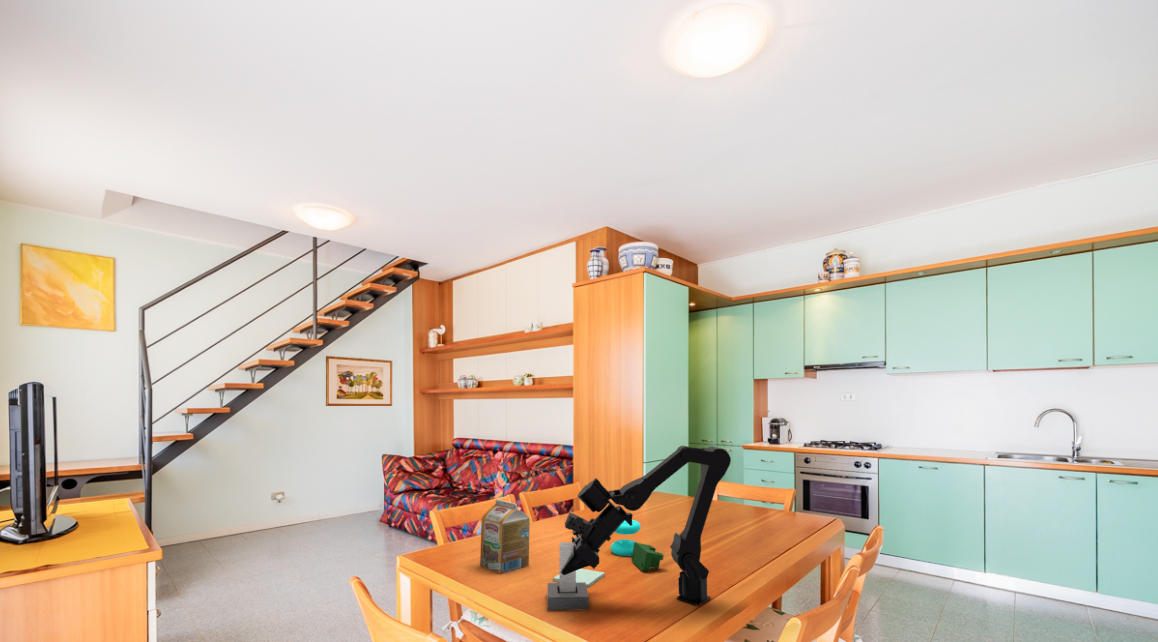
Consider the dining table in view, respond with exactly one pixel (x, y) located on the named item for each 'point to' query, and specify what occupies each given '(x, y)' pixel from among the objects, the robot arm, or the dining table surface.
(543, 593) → the dining table surface
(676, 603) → the dining table surface
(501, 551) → the milk carton
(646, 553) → the clamp
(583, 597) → the socket block
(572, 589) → the peg
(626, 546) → the donuts
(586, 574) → the pad
